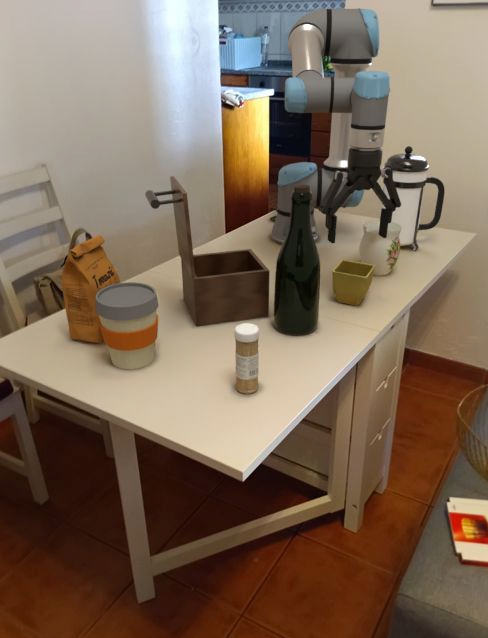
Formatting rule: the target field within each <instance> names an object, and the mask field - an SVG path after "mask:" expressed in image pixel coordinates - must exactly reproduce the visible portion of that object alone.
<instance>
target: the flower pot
mask: <svg viewBox="0 0 488 638" xmlns="http://www.w3.org/2000/svg"><path fill="white" fill-rule="evenodd" d="M374 270H375V265H370V264H365V263H361V262H359V261H353V260H346V259H341V261H339V263H338V264H337V265H336V266H334V268H333V269H332V273H331V274H332V290H333V294H334V297H335V299H336V300H337V302H338V303H342V304H347V305H351V306H359V305H360V303H361V302H362V300H363V299H364V298H365V296H366V295H367V293H368V291H369V289H370V288H371V285H372V281H373V277H374V275H373V274H374Z"/></svg>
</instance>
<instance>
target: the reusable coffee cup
mask: <svg viewBox="0 0 488 638" xmlns="http://www.w3.org/2000/svg"><path fill="white" fill-rule="evenodd" d="M159 305H160V304H159V299H158V295H157V291H156V289H155V288H154V287H153V286H152V285H150V284H146V283H142V282H134V281H133V282H120V283H118V284H114V285H110V286H107V287H105V288H103V289H101V290H100V291H99V292H98V293H97V294H96V312H97V313H98V314H99V317H100V320H99V325H100V328H101V332H102V335H103V342H104V344H105V345H106V346H107V349H108V353H109V356H110V360H111V362H112V364H113V365H114V366H115V367H117V368H119V369H123V370H138V369H142V368H145V367H147V366H148V365H150V364H152V363H153V361H154V360H155V351H156V341H157V339H158V333H159V332H158V331H159V315H158V308H159V307H160V306H159Z"/></svg>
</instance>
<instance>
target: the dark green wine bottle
mask: <svg viewBox="0 0 488 638" xmlns="http://www.w3.org/2000/svg"><path fill="white" fill-rule="evenodd" d="M311 200H312V193H311V191H310V186H309V185H306V184H297V185H294V191H292V194H291V214H290V222H289V228H288V231H287V234H286V237H285V239H284V241H283V244H281V246H280V249H279V252H278V254H277V258H276V263H275V265H276V266H275V273H274V290H273V291H274V293H273V326H274V327H275V329H277V331H279V332H280V333H283V334H287V335H291V336H302V335H307V334H310V333H312V332H314V331H315V330H316V329H318V328H317V327H318V326H319V314H320V313H319V312H320V295H321V258H320V253H319V250H318V246H317V244H316V242H315V240H314V237H313V233H312V228H311Z"/></svg>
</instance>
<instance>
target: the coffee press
mask: <svg viewBox="0 0 488 638" xmlns="http://www.w3.org/2000/svg"><path fill="white" fill-rule="evenodd" d="M413 151H414V150H413V147H412V146H410V145H408V146H406V147H405V149H404V152H405V153H396V154H393V155H391V156H389V157H388V158H387V160H386V162H385V163H384V165H383V167H382V168H381V169H383V168H384V167H388V168H390V169H392V170H393V181H394V184H395V187H396V190H397V193H398V196H399V199H400V202H401V206H400V207H397V208H396V210H395V211H394V212H392V220H391V222H393V223H396V224H398V225H400V226H401V232H400V234H399V240H400V247H403V246H404V247H405V246H409V247H410V249H411V250H412V251H416V250H418V249H419V244H418V243H417V238H418V233H419V231H427V230H431V229H433V228H435V227H436V226H437V225H438V224H439V222H440V220H441V217H442V211H443V205H444V199H445V191H446V190H445V185H444V183H443V182H442V180H440V179H439V178H437V177H434V176H430V177H427V175H428V174H427V173H428V171H429V168H430V165H429V164H428V160H427V159H426V157H424V156H422V155H420V154H414V153H413ZM382 183H383V187H382V190H383V192H384V193H385V195H386V196H387V197H388V199H389V200H390V197H389V194H388V191H387V188H386V185H385V182H384V179H383V178H382ZM427 184H431V185H435V186H436V187H437V198H436V204H435V208H434V215H433V219H432V220H431V221H430V222H428V223H420V219H421V215H422V206H423V201H424V193H425V187H426V186H427ZM390 202H391V200H390ZM380 203H381V205H380V210H381V209H383V208H384V209H385V207H384V205H383V204H382V202H380ZM379 213H380V214H379V218H380V217H381V211H379ZM378 221H380V219H379V220H378Z"/></svg>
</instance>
